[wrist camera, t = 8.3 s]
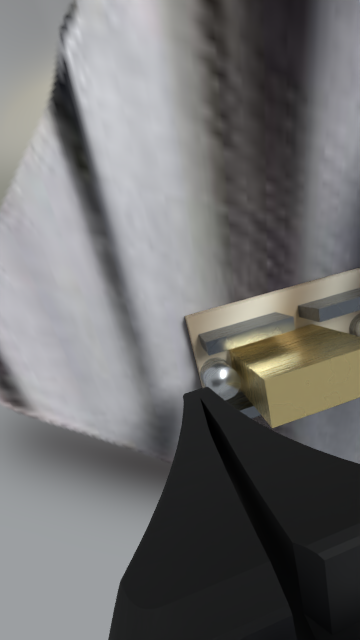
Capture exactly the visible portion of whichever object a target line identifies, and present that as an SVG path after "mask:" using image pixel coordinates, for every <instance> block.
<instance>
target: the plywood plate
mask: <svg viewBox="0 0 360 640" xmlns="http://www.w3.org/2000/svg"><path fill="white" fill-rule="evenodd" d="M357 288H360V268H356V269H353V270H349V271H345V272H342V273H338V274H335V275H331V276H327V277H324V278H320V279H317V280H313V281H309V282H306V283H302V284H299V285H295V286H291V287H288V288H284V289H281V290H277V291H273V292H270V293H266V294H263V295H259V296H255V297H252V298H248V299H245V300H241V301H237V302H234V303H230V304H227V305H223V306H219V307H216V308H212V309H209V310H205V311H201V312H198V313H194V314H191V315H187V316H185V320H186V324H187V328H188V332H189V336H190V340H191V344H192V348H193V352H194V356H195V361H196V365H197V369H198V373H199V377H200V381H201V385H202V388H204V387H206V386H205V385H204V383H203V381H202V379H201V376H200V371H201V368H202V366H203V364H204V363H205V362H206V361H207V360H209V359H211V358H215V357H218V358H222V359H224V360H225V361H226V362H227V363H228V364H229V365H230V366H231V367H232V363H231V358H230V353H229V350H226V351H223V352H220V353H217V354H213V355H210V356H209V355H208V354H207V353H206V351H205V350H204V349H203V348H202V346H201V343H200V338H199V334H201V333H205V332H208V331H211V330H215V329H218V328H222V327H225V326H229V325H232V324H236V323H239V322H243V321H246V320H250V319H253V318H256V317H260V316H263V315H267V314H270V313H274V312H278V313H281V314H285V315H289V316H293V317H294V326H295V329H297V328H300V327H303V326H307V325H310V324H314V325H318V326H322V327H325V328H329V329H333V330H337V331H340V332H344V333H348V334H350V332H349V327H350V323H351V321H352V320H353V318H354V317H355V316H356V315H358V314H359V313H360V310H359V311H355V312H352V313H349V314H346V315H342V316H339V317H336V318H332V319H329V320H326V321H322V322H317V321H313V320H309V319H305V318H301V317H299V311H298V305H301V304H305V303H308V302H312V301H315V300H319V299H322V298H326V297H329V296H332V295H336V294H339V293H343V292H346V291H350V290H353V289H357ZM238 392H241V390H240V389H239V391H238Z"/></svg>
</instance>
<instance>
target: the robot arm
mask: <svg viewBox="0 0 360 640" xmlns="http://www.w3.org/2000/svg"><path fill="white" fill-rule="evenodd" d="M183 399H184V409H183V419H182V426H181V432H180V436H179V441H178V446H177V450H176V453H175V457H174V460H173V464H172V467H171V470H170V473H169V476H168V479H167V482H166V485H165V487H164V490H163V492H162V495H161V497H160V500H159V502H158V504H157V507H156V509H155V511H154V514H153V516H152V518H151V521H150V523H149V525H148V527H147V530H146V532H145V534H144V536H143V538H142V540H141V542H140V544H139V546H138V548H137V550H136V552H135V554H134V556H133V558H132V560H131V562H130V564H129V566H128V568H127V570H126V572H125V574H124V576H123V577H122V579H121V582H120V585H119V589H118V594H117V599H116V603H115V608H114V613H113V618H112V623H111V629H110V634H109V639H108V640H360V464H358V463H354V462H351V461H348V460H344V459H341V458H338V457H336V456H333V455H330V454H327V453H324V452H322V451H319V450H316V449H313V448H311V447H308V446H306V445H303V444H301V443H299V442H296V441H294V440H292V439H289V438H287V437H285V436H283V435H280V434H278V433H276V432H274V431H272V430H270V429H269V428H267V427H265V426H263V425H261V424H259V423H258V422H256V421H254V420H253V419H251V418H249V417H248V416H246V415H245V414H243V413H242V412H240V411H239V410H237V409H236V408H234V407H233V406H232V405H230V404H229V403H228V402H226V401H225V400H224V399H222V398H221V397H220V396H219V395H218V394H216V393H215V392H214V391H213V390H212V389H211V388H209V387H204V388H201V389H198V390H195V391H192V392H189V393H186V394H184V396H183Z"/></svg>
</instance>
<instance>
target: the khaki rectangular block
mask: <svg viewBox="0 0 360 640" xmlns="http://www.w3.org/2000/svg"><path fill="white" fill-rule="evenodd" d="M229 353H230V358H231V363H232V368H233V369H234V370H235V371H236V372H237V373H238V374H239V376H240V379H241V386H240V390H241V391H242V392H243V394H244V395H245V396H246V397H247V398H248V400H249V401H250V402H251V403H252V404H253V406H254V407H255V408H256V409H257V410H258V412H259V413H260V414H261V415H262V416H263V418H264V419H265V420H266V421H267V423H268V424H269V425H270V426H271V427H272V428H274V427H277V426H280V425H283V424H286V423H288V422H291V421H294V420H297V419H300V418H303V417H305V416H308V415H311V414H314V413H317V412H320V411H323V410H325V409H328V408H331V407H334V406H337V405H340V404H342V403H345V402H348V401H351V400H354V399H357V398H359V397H360V337H359V336H355V335H352V334H348V333H344V332H340V331H337V330H333V329H329V328H325V327H322V326H318V325H314V324H310V325H307V326H303V327H300V328H297V329H295V330H293V331H289V332H286V333H283V334H279V335H276V336H273V337H269V338H266V339H263V340H260V341H256V342H253V343H250V344H246V345H243V346H240V347H236V348H233V349H230V350H229Z"/></svg>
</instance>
